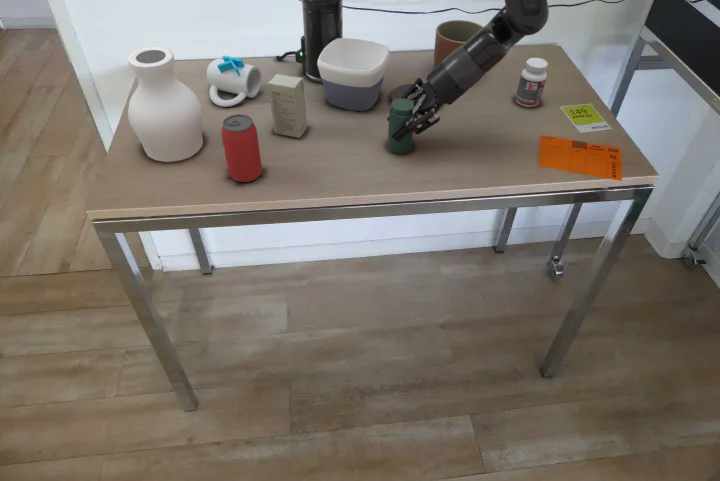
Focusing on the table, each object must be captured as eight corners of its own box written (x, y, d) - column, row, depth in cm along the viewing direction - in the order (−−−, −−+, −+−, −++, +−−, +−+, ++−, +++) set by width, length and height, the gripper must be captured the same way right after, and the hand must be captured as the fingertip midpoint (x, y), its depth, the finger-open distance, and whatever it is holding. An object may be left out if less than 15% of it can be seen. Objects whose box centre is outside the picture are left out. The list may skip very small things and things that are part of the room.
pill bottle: (539, 109, 131) (550, 70, 124) (514, 106, 132) (524, 67, 125) (539, 96, 135) (549, 58, 128) (515, 94, 136) (524, 55, 129)
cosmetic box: (307, 128, 124) (304, 77, 115) (300, 139, 121) (296, 88, 112) (281, 122, 125) (276, 72, 117) (272, 133, 122) (267, 82, 114)
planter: (446, 56, 149) (452, 15, 141) (488, 70, 144) (496, 28, 136) (422, 74, 141) (426, 32, 134) (465, 90, 136) (472, 47, 129)
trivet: (381, 104, 131) (381, 101, 131) (404, 82, 139) (404, 79, 138) (428, 118, 127) (428, 115, 127) (449, 95, 135) (449, 92, 134)
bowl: (375, 120, 126) (376, 75, 118) (311, 108, 130) (309, 63, 122) (393, 88, 137) (396, 44, 129) (334, 77, 140) (333, 33, 132)
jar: (383, 148, 119) (385, 106, 112) (394, 136, 122) (397, 94, 115) (405, 156, 117) (408, 113, 110) (415, 143, 120) (420, 101, 113)
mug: (207, 43, 130) (253, 53, 127) (221, 70, 138) (264, 80, 135) (184, 83, 126) (230, 95, 123) (200, 108, 134) (244, 119, 131)
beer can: (230, 164, 114) (221, 112, 106) (263, 162, 115) (256, 111, 106) (227, 184, 110) (217, 132, 101) (261, 183, 110) (254, 131, 102)
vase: (149, 125, 124) (123, 37, 109) (214, 126, 124) (197, 39, 110) (130, 164, 114) (99, 74, 99) (200, 165, 114) (180, 75, 99)
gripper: (436, 45, 112) (375, 101, 119) (453, 81, 102) (384, 140, 109) (458, 68, 116) (398, 121, 124) (476, 105, 106) (409, 160, 114)
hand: (392, 130), depth 116 cm, fingers closed on jar, 5 cm apart
